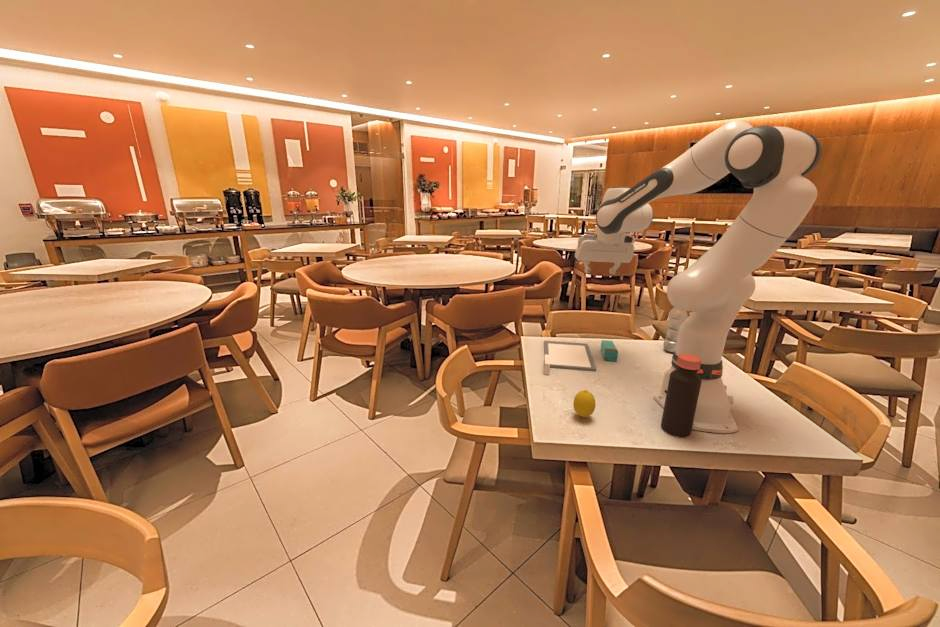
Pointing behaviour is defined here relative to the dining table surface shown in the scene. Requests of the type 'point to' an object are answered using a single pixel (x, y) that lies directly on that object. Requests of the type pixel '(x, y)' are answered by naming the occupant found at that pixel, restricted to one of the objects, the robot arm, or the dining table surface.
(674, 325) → the plastic bottle
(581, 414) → the lemon
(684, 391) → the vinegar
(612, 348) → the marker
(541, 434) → the dining table surface
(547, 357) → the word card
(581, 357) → the writing board
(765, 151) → the robot arm
